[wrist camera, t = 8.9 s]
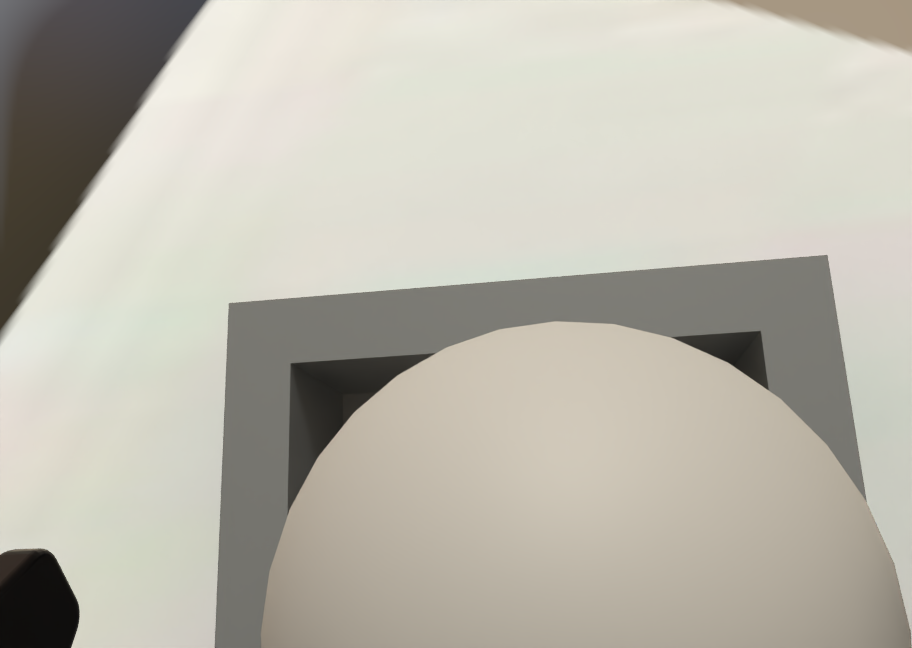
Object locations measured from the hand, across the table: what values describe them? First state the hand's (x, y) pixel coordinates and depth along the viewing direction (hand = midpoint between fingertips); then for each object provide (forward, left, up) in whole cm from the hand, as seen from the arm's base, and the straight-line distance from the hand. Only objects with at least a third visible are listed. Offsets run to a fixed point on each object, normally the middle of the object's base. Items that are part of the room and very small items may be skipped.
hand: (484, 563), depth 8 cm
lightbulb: (0, -1, -9) cm, 9 cm away
